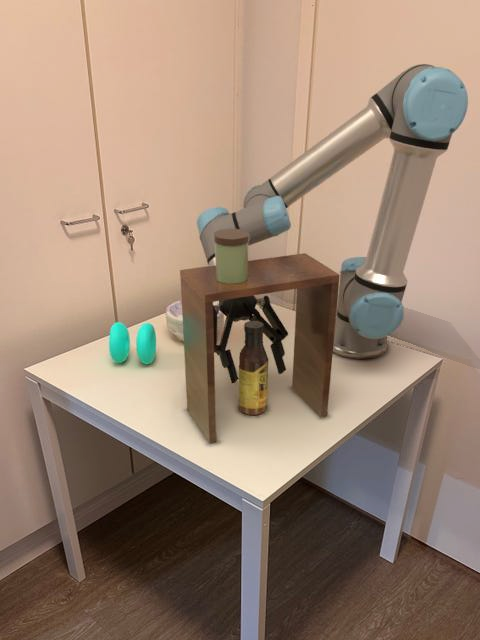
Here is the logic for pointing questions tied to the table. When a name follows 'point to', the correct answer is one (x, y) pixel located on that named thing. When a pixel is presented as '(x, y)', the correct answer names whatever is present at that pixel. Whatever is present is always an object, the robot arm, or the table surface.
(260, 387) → the sauce bottle
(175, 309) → the paper bowls
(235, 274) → the spice jar
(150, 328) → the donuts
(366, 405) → the table surface
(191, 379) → the shelf
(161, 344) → the table surface
